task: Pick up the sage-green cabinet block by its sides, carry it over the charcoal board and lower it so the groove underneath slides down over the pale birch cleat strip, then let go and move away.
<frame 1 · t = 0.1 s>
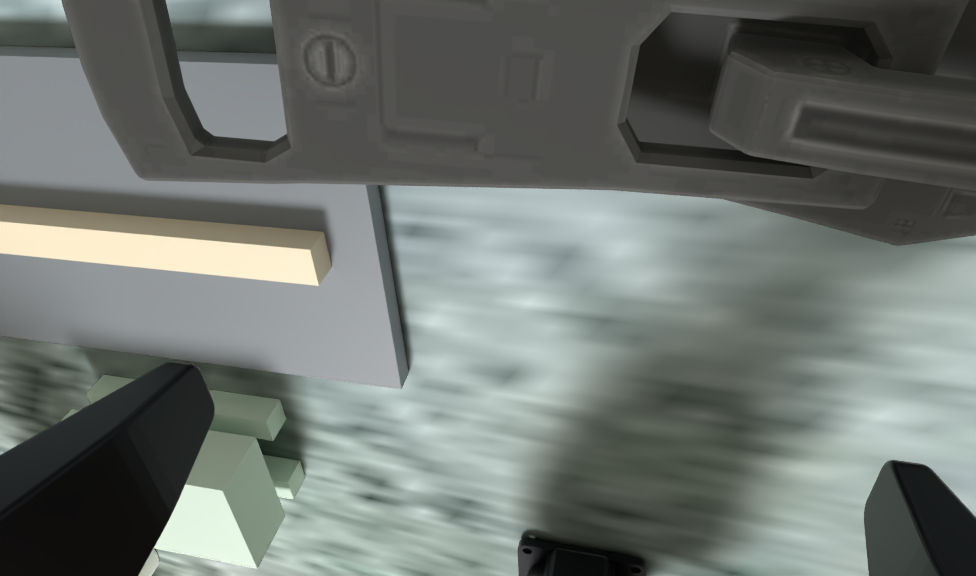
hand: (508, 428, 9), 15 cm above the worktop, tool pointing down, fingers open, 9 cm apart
cleat board: (114, 216, 29), on the worktop
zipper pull: (610, 20, 20), on the worktop
cabinet block: (207, 426, 37), on the worktop
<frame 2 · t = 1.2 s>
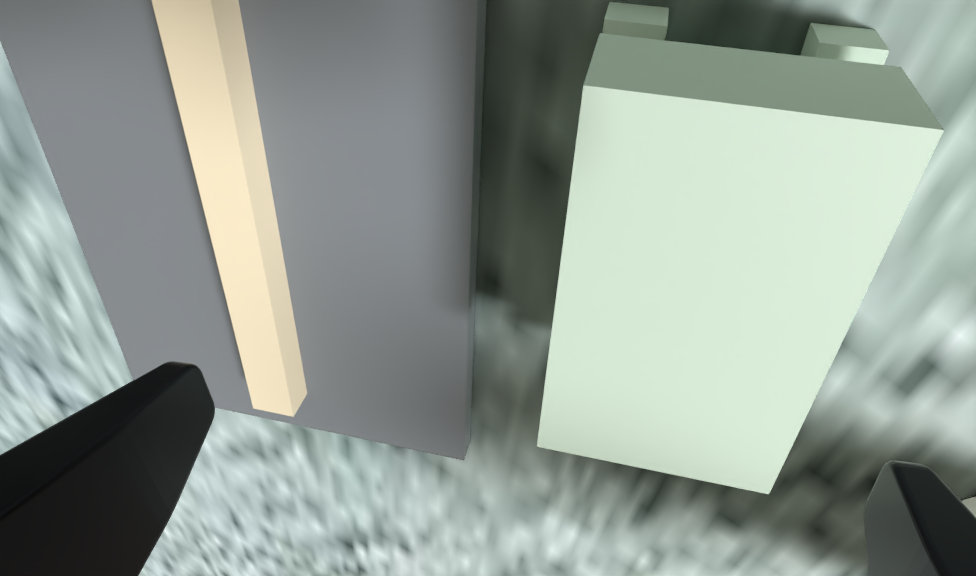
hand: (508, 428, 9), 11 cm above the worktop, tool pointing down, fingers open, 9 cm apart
cleat board: (256, 138, 21), on the worktop
cabinet block: (691, 199, 19), on the worktop
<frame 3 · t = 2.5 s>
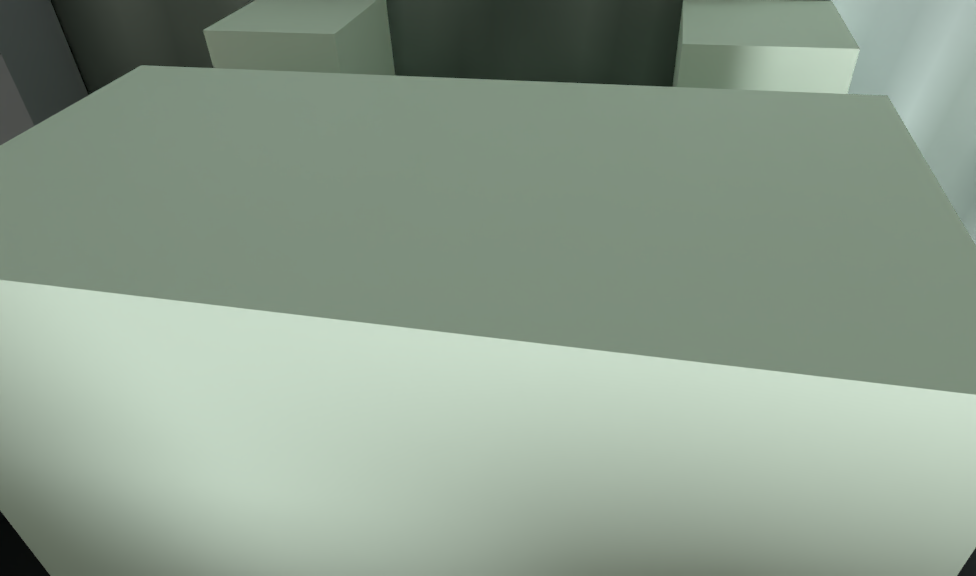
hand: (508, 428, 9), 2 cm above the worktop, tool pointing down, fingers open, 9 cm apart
cabinet block: (531, 344, 10), on the worktop
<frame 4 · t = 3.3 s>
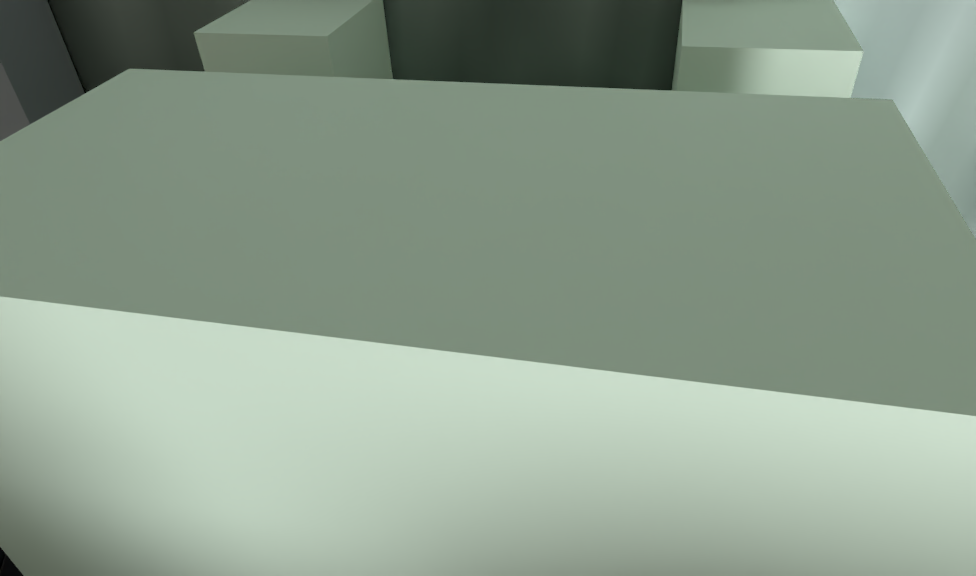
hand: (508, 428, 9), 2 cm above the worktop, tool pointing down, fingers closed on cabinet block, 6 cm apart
cabinet block: (529, 349, 10), on the worktop, touching gripper
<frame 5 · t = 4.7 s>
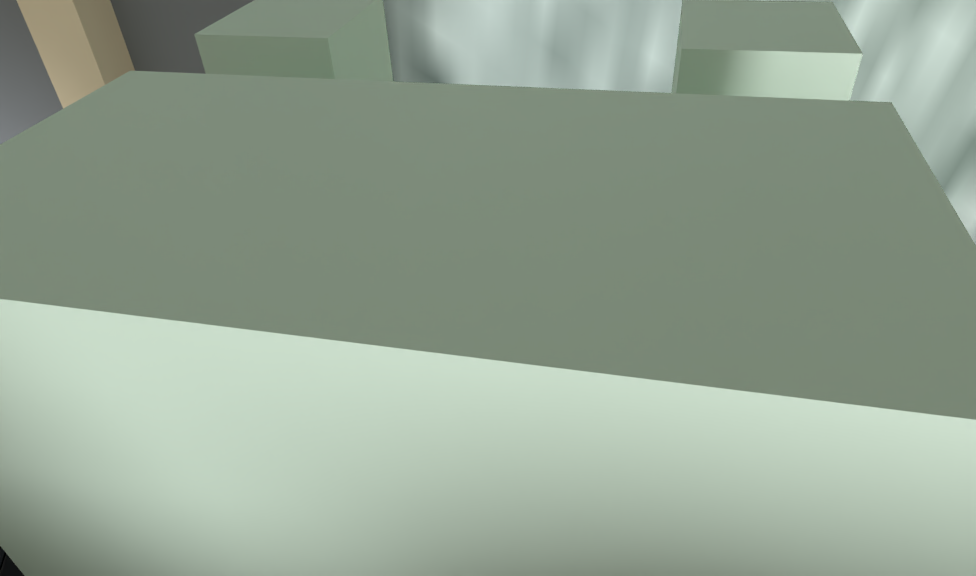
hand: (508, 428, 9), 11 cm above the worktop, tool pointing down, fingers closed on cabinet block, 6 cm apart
cleat board: (141, 82, 20), on the worktop
cabinet block: (529, 350, 10), point 9 cm above the worktop, touching gripper
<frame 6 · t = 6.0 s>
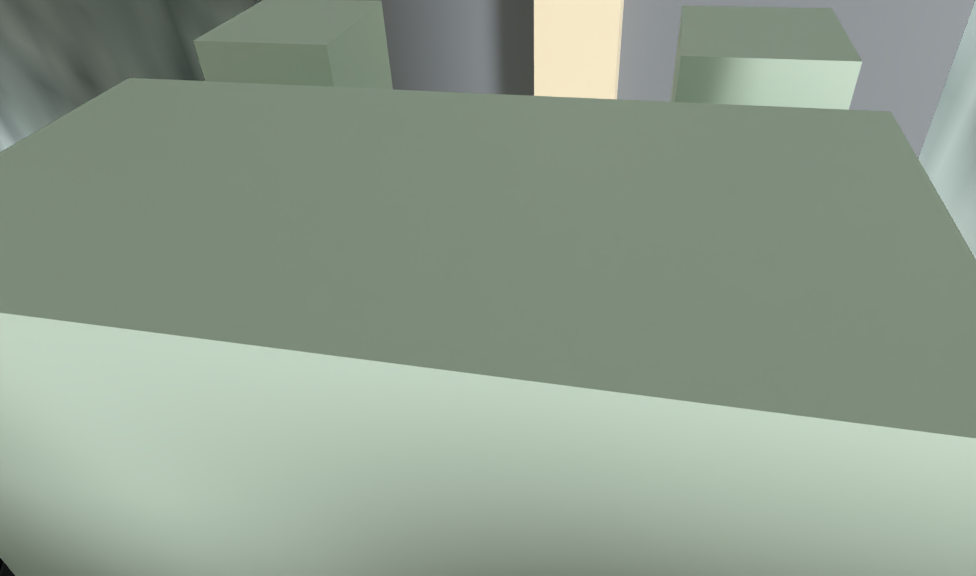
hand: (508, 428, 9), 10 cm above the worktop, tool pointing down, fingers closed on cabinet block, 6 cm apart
cleat board: (582, 129, 17), on the worktop
cabinet block: (528, 355, 10), point 8 cm above the worktop, touching gripper
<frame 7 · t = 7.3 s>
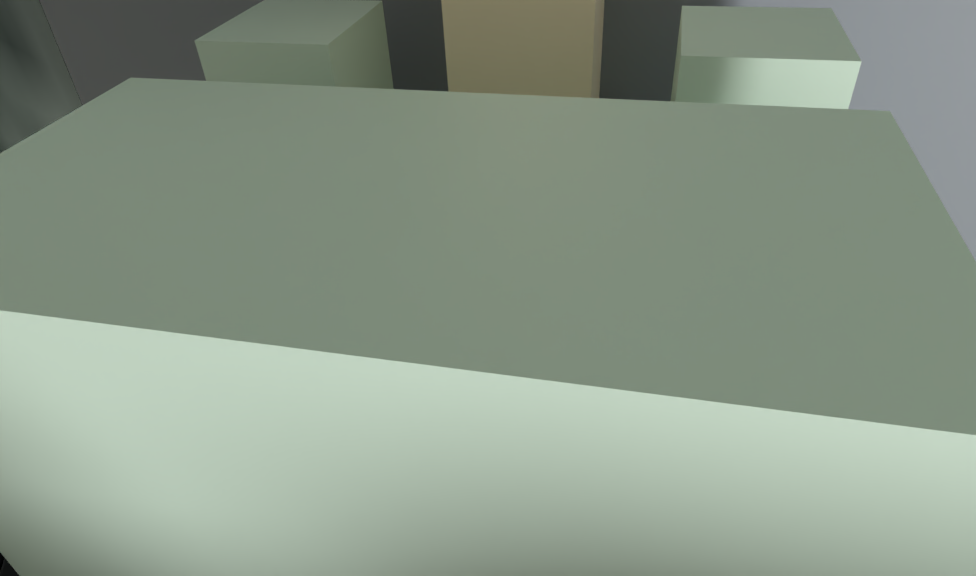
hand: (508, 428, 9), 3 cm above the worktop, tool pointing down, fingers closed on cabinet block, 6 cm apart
cleat board: (546, 276, 12), on the worktop
cabinet block: (529, 354, 10), point 2 cm above the worktop, touching gripper
when the fingers open (3 cm above the worktop, at t = 7.7 s): cabinet block stays where it is, resting on cleat board.
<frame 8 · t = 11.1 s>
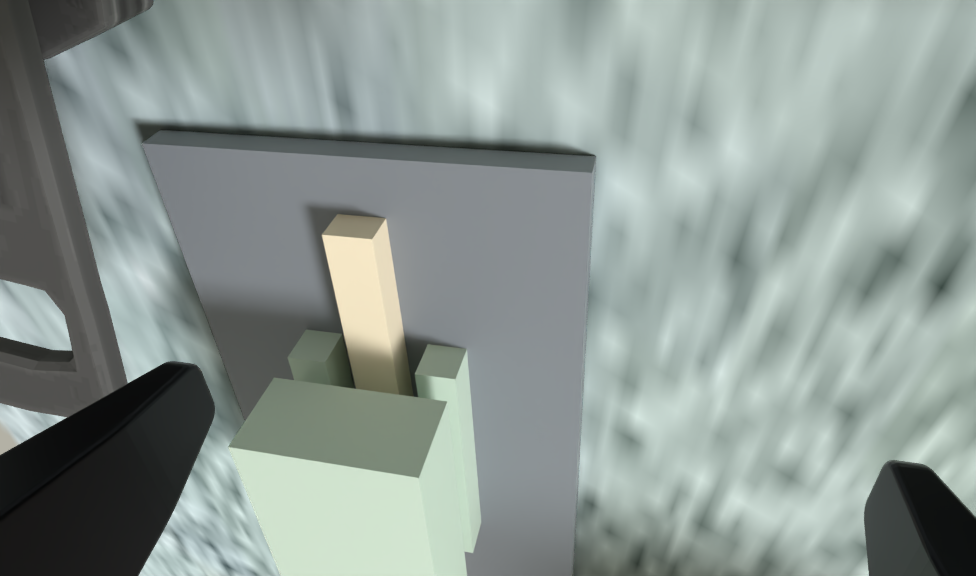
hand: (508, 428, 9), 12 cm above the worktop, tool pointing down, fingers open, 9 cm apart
cleat board: (408, 414, 28), on the worktop
cabinet block: (401, 434, 27), point 1 cm above the worktop, touching cleat board
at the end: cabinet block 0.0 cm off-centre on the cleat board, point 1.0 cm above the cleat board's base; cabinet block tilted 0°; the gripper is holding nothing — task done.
